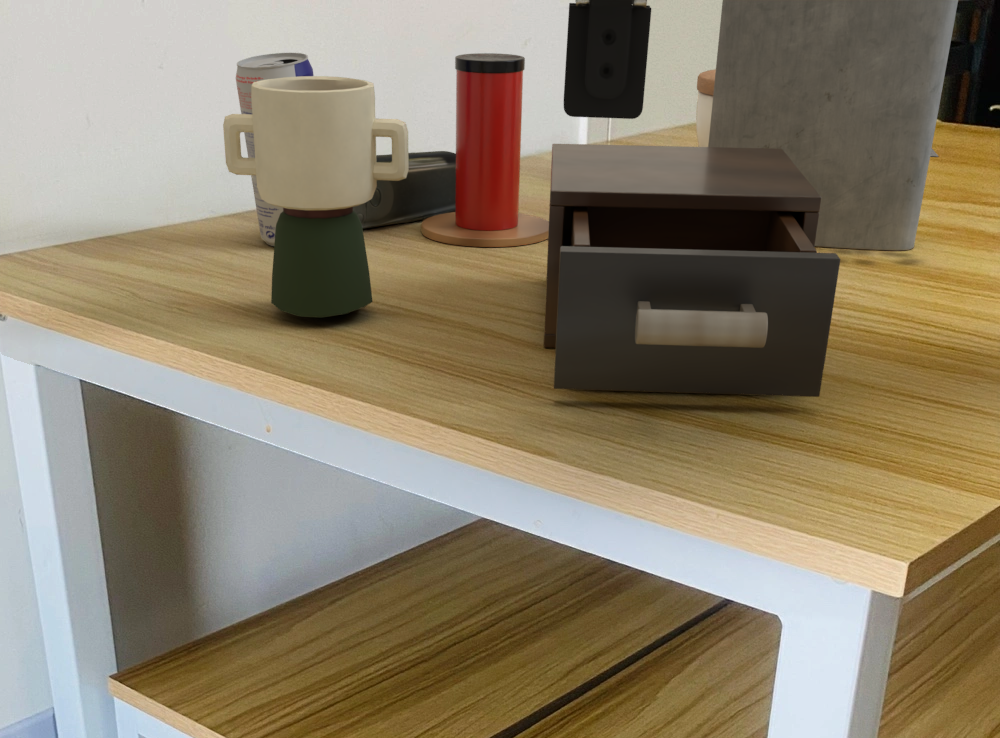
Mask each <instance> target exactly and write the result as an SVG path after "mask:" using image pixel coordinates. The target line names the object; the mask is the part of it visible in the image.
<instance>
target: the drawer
mask: <svg viewBox="0 0 1000 738" xmlns="http://www.w3.org/2000/svg"><path fill="white" fill-rule="evenodd" d="M840 265H841V258H840V257H839V255H838V253H836V252H817V249H816V248H814V246H813V245H812V243H811V242H810V240H809V239H808V237H807V236H806V234H805V233H804V232H803V230H802V229H801V227H800V226H799V224H798V223H797V221H796V220H795V218H794V217H793V215H792V214H791V212H785V211H744V210H703V209H662V208H621V207H579V206H572V223H571V242H570V246H561V247H560V265H559V286H558V307H557V328H556V348H554V349H555V352H554V370H553V371H554V372H553V373H554V374H553V389H555V390H578V391H579V390H580V391H581V390H582V391H583V390H585V391H612V392H613V391H615V392H646V393H648V392H650V393H675V394H677V393H679V394H708V395H709V394H710V395H712V394H713V395H740V396H741V395H743V396H748V395H749V396H772V397H773V396H774V397H777V396H779V397H807V398H808V397H809V398H810V397H811V398H812V397H813V398H819V397H820V395H821V389H822V382H823V376H824V371H825V370H824V369H825V363H826V356H827V350H828V343H829V337H830V331H831V325H832V319H833V312H834V311H833V310H834V304H835V297H836V291H837V285H838V277H839V272H840Z"/></svg>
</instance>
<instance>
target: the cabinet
mask: <svg viewBox="0 0 1000 738" xmlns="http://www.w3.org/2000/svg"><path fill="white" fill-rule="evenodd" d="M550 167H551V168H550V185H549V186H550V187H549V188H550V191H549V211H548V221H549V232H548V239H547V255H546V257H547V258H546V259H547V261H546V281H545V305H544V330H543V332H544V333H543V348H545V349H547V348H548V349H556V328H557V307H558V286H559V265H560V247H561V246H570V242H571V223H572V206H579V207H621V208H662V209H703V210H744V211H785V212H791V214H792V215H793V217H794V218H795V220H796V221H797V223H798V224H799V226H800V227H801V229H802V230H803V232H804V233H805V234H806V236H807V237H808V239H809V240H810V242H811V243H812V245H813V246H814V248H815V247H816V246H815V241H816V234H817V227H818V220H819V211H820V205H821V196H820V195H819V194H818V193H817V191H816V190H815V189H814V188H813V187H812V185H811V184H810V183H809V182H808V180H807V179H806V178H805V177H804V175H803V174H802V173H801V172H800V170H799V169H798V168H797V167H796V166H795V164H794V163H793V162H792V161H791V159H790V158H789V157H788V156H787V154H786V153H785V152H784V151H783V149H773V148H728V147H698V146H681V145H679V146H678V145H677V146H676V145H675V146H674V145H630V144H629V145H628V144H592V143H591V144H589V143H587V144H584V143H580V144H579V143H552V144H551V165H550ZM815 249H816V248H815Z"/></svg>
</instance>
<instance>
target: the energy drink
mask: <svg viewBox="0 0 1000 738" xmlns="http://www.w3.org/2000/svg"><path fill="white" fill-rule="evenodd" d="M235 73H236V74H235V82H236V90H237V96H238V103H239V109H240V114H252V100H251V86H252V84H253V82H257V81H261V80H267V79H276V78H284V77H300V76H315V75H314V68H313V67H312V63H311V62H310V59H309V56H308V54H307V53H303V52H276V53H268V54H260V55H255V56H251V57H247V58H243V59H241V60H239V61H237V62H236V72H235ZM243 133H244V140H245V146H246V153H247V158H255V147H254V133H252V132H243ZM250 177H251V185H252V190H253V196H254V204H255V209H256V217H257V221H258V222H257V223H258V228H259V233H260V238H261V240H262V241H263V242H265V243H266V245H268V246H271V247H274V243H275V230H276V223H277V221H278V218H279V216H280V213H282V212H283V207H278V206H274V205H272V204H269V203H267V202H265V201H264V200H262V199H261V197H260V194H259V191H258V188H257V179H256V175H250Z"/></svg>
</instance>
